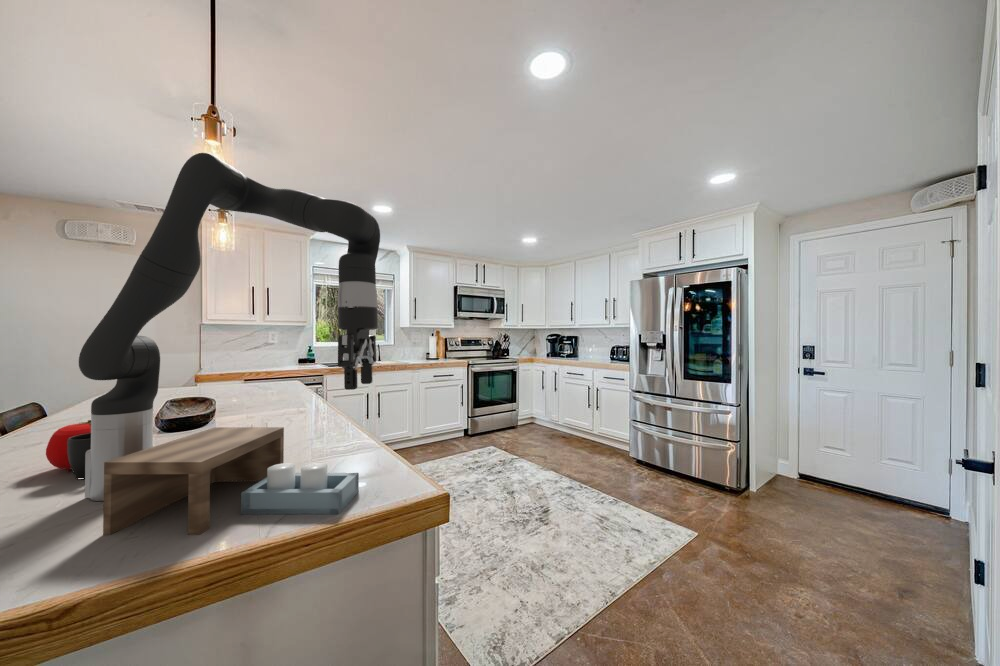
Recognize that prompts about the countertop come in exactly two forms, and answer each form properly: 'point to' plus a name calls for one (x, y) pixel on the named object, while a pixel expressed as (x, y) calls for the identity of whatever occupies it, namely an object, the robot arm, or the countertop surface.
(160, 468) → the counter shelf
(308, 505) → the tray
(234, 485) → the countertop surface
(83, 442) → the mug
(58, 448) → the tomato
